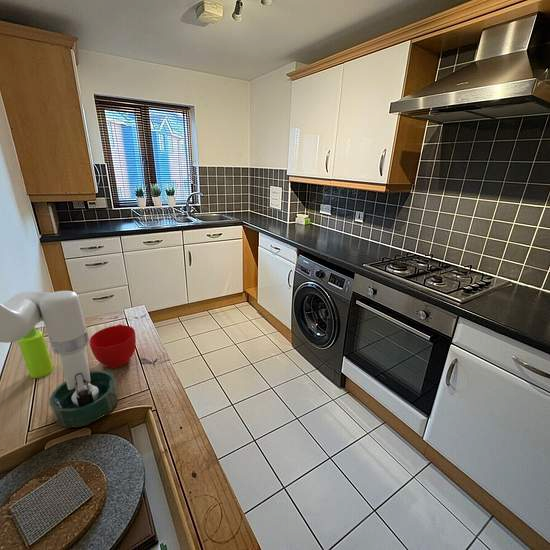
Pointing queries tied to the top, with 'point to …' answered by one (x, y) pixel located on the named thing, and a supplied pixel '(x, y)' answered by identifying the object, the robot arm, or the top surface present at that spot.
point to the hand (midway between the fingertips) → (84, 395)
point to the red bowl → (113, 345)
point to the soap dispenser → (36, 354)
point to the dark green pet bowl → (81, 416)
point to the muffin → (92, 389)
